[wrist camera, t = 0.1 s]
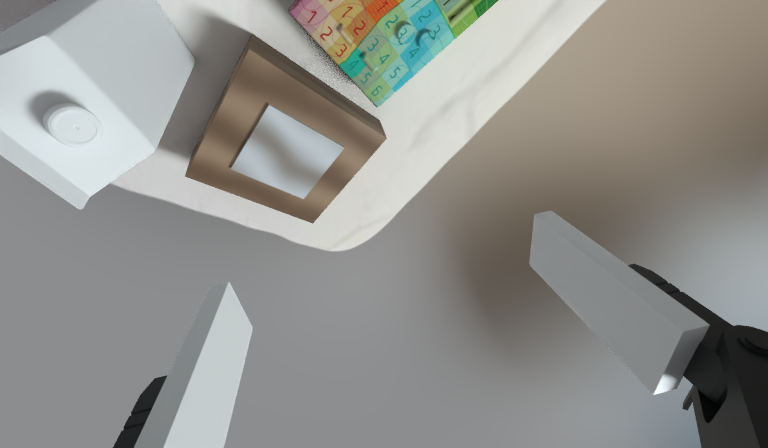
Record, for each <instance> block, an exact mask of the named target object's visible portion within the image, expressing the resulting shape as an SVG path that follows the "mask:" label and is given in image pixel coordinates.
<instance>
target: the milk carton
mask: <svg viewBox="0 0 768 448" xmlns="http://www.w3.org/2000/svg"><path fill="white" fill-rule="evenodd" d="M194 64H195V59H194V57H193V56H192V54H191V53H190V51H189V50H188V48H187V47H186V45H185V44H184V42H183V41H182V39H181V38H180V36H179V35H178V33H177V32H176V30H175V29H174V27H173V26H172V24H171V23H170V21H169V20H168V18H167V17H166V15H165V14H164V12H163V11H162V9H161V8H160V6H159V5H158V3H157V2H156V0H57V1H54V2H53V3H51V4H49V5H47V6H46V7H44V8H42V9H40V10H39V11H37V12H35V13H33V14H32V15H30V16H28V17H26V18H25V19H23V20H21V21H20V22H18V23H16V24H14V25H13V26H11V27H9V28H7V29H6V30H4V31H2V32H0V155H1V156H3V157H4V158H6V159H7V160H9V161H10V162H11V163H13V164H14V165H16V166H17V167H19V168H20V169H22V170H23V171H24V172H26V173H27V174H29V175H30V176H32V177H33V178H35V179H36V180H37V181H39V182H40V183H42V184H43V185H45V186H46V187H48V188H49V189H50V190H52V191H53V192H55V193H56V194H58V195H59V196H60V197H62V198H63V199H65V200H66V201H68V202H69V203H70V204H72V205H74V206H75V207H77V208H78V209H83V207H84V206H85V204H86V202H87V201H88V199H89V197H90V196H92V195H93V194H94V193H96V192H97V191H99V190H100V189H102V188H103V187H105V186H106V185H107V184H109V183H110V182H112V181H113V180H115V179H116V178H117V177H119V176H120V175H122V174H123V173H125V172H126V171H127V170H129V169H130V168H132V167H133V166H135V165H136V164H137V163H139V162H140V161H142V160H143V159H145V158H146V157H147V156H149V155H150V154H152V153H153V152H154V151H155V149H156V147H157V146H158V143H159V141H160V139H161V137H162V135H163V133H164V130H165V128H166V126H167V124H168V121H169V119H170V117H171V115H172V113H173V110H174V108H175V106H176V104H177V102H178V99H179V97H180V95H181V93H182V91H183V88H184V86H185V84H186V82H187V80H188V77H189V75H190V73H191V71H192V69H193V66H194Z"/></svg>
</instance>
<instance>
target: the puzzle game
mask: <svg viewBox="0 0 768 448" xmlns="http://www.w3.org/2000/svg"><path fill="white" fill-rule="evenodd" d="M497 1H498V0H296V1H295V2H294V3H293V4H292V6H291V7H290V8H289V13H290V15H291V16H292V17H293V18H294V19H295V20H296V21H297V22H298V23H299V24H300V25H301V26H302V27H303V29H304V30H305V31H306V32H307V33H308V34H309V35H310V36H311V37H312V38H313V39H314V40H315V41H316V43H317V44H318V45H319V46H320V47H321V48H322V49H323V50H324V51H325V52H326V53H327V54H328V55H329V57H330V58H331V59H332V60H333V61H334V62H335V63H336V64H337V65H338V66H339V67H340V68H341V69H342V70H343V72H344V73H345V74H346V75H347V76H348V77H349V78H350V79H351V80H352V81H353V82H354V83H355V84H356V86H357V87H358V88H359V89H360V90H361V91H362V92H363V93H364V94H365V95H366V96H367V97H368V98H369V100H370V101H371V102H372V103H373V104H374V105H375V106H376V107H378V106H380V105H381V104H382V103H384V102H385V101H386V100H387V99H388V98H389V97H390V96H392V95H393V94H394V93H395V92H396V91H397V90H398V89H399V88H400V87H402V86H403V85H404V84H405V83H406V82H407V81H408V80H409V79H411V78H412V77H413V76H414V75H415V74H416V73H417V72H418V71H420V70H421V69H422V68H423V67H424V66H425V65H426V64H427V63H429V62H430V61H431V60H432V59H433V58H434V57H435V56H436V55H438V54H439V53H440V52H441V51H442V50H443V49H444V48H445V47H447V46H448V45H449V44H450V43H451V42H452V41H453V40H454V39H456V38H457V37H458V36H459V35H460V34H461V33H462V32H463V31H464V30H466V29H467V28H468V27H469V26H470V25H471V24H472V23H473V22H475V21H476V20H477V19H478V18H479V17H480V16H481V15H482V14H484V13H485V12H486V11H487V10H488V9H489V8H490V7H491V6H493V5H494V4H495V3H496V2H497Z"/></svg>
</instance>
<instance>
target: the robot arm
mask: <svg viewBox="0 0 768 448" xmlns="http://www.w3.org/2000/svg"><path fill="white" fill-rule="evenodd" d="M529 264H530V266H532V268H533V269H534V270H535V271H536V272H537V273H538V274H539V275H540V276H541V277H542V278H543V279H544V280H545V281H546V283H547V284H549V286H550V287H551V288H552V289H553V290H554V291H555V292H556V293H557V294H558V295H559V296H560V297H561V298H562V299H563V300H564V302H565V303H566V304H567V305H568V306H569V307H570V308H571V309H572V310H573V311H574V312H575V313H576V314H577V315H578V316H579V317H580V318H581V319H582V320H583V321H584V322H585V324H586V325H587V326H588V327H589V328H590V329H591V330H592V331H593V332H594V333H595V334H596V335H597V336H598V337H599V338H600V339H601V340H602V341H603V342H604V344H605V345H606V346H607V347H608V348H609V349H610V350H611V351H612V352H613V353H614V354H615V355H616V356H617V357H618V358H619V359H620V360H621V361H622V362H623V364H624V365H625V366H626V367H627V368H628V369H629V370H630V371H631V372H632V373H633V374H634V375H635V376H636V377H637V378H638V379H639V380H640V382H642V384H643V385H644V386H645V387H646V388H647V389H648V390H649V391H650V392H651V393H652V394H653V395H655V394H659V393H662V392H666V391H670V390H673V389H676V388H677V387H678V385H679V383H680V381H681V379H682V377H683V376H684V377H685V378H686V379H688V380H689V381H690V382H691V383H692V384H693V386H692V388H691V390H690V392H689V393H688V395H687V397H686V399H685V400H684V402H683V409H685V410H688V409H689V407H690V405H691V403H692V402H693V406H694V411H695V416H696V421H697V427H698V432H699V436H700V442H701V447H702V448H768V332H766V331H763V330H760V329H757V328H754V327H749V326H741V325H736V326H733V325H731V324H729V323H728V322H726V321H725V320H723V319H722V318H720V317H719V316H718V315H716V314H715V313H713V312H712V311H710V310H709V309H707V308H706V307H704V306H703V305H701V304H700V303H698V302H697V301H695V300H694V299H693V298H691V297H690V296H688V295H687V294H685V293H684V292H680V291H679V289H678V288H676V287H675V286H673V285H672V284H671V283H669V284H668V283H667V281H666V280H665V279H663V278H662V277H660V276H659V275H657V274H656V273H654V272H653V271H651V270H648V269H646V268H644V267H641V266H639V265H636V264H631V265H626V264H625V263H623V262H622V261H620V260H619V259H618V258H616V257H615V256H614V255H612V254H611V253H609V252H608V251H607V250H605V249H604V248H602V247H601V246H599V245H598V244H597V243H595V242H594V241H593V240H591V239H590V238H588V237H587V236H586V235H584V234H583V233H581V232H580V231H578V230H577V229H576V228H575V227H573V226H572V225H570V224H569V223H568V222H566V221H564V220H563V219H562V218H560V217H559V216H558V215H556V214H555V213H554V212H552V211H547V212H543V213H538V214H535V217H534V225H533V234H532V244H531V253H530V263H529ZM252 329H253V328H252V326H251V324H250V322H249V320H248V318H247V316H246V314H245V312H244V310H243V308H242V306H241V304H240V302H239V300H238V298H237V296H236V294H235V292H234V290H233V288H232V286H231V284H230V282H229V281H228V282H223V283H219V284H214V285H210V286H209V288H208V290H207V292H206V294H205V297H204V299H203V301H202V303H201V305H200V307H199V309H198V311H197V314H196V316H195V318H194V320H193V322H192V324H191V326H190V329H189V331H188V333H187V335H186V337H185V339H184V342H183V344H182V346H181V348H180V350H179V352H178V354H177V356H176V359H175V361H174V363H173V365H172V367H171V369H170V371H169V374H168V375H167V376H163V377H159V378H155V379H154V380H153V381H152V382H151V383H150V385H149V386H148V387H147V388H146V389H145V391H143V393H142V394H141V395H140V397H139V399H138V401H137V402H136V404H135V406H134V408H133V410H132V412H131V413H132V415H131V416H129V418H128V420H127V422H126V424H125V426H124V430H123V431H122V432H121V433H120V435H119V437H118V439H117V441H116V443H115V445H114V447H113V448H224V444H225V440H226V435H227V432H228V427H229V424H230V420H231V415H232V411H233V407H234V403H235V399H236V395H237V391H238V387H239V383H240V379H241V375H242V370H243V366H244V362H245V358H246V354H247V350H248V346H249V342H250V338H251V333H252Z"/></svg>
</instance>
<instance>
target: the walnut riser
mask: <svg viewBox="0 0 768 448" xmlns="http://www.w3.org/2000/svg"><path fill="white" fill-rule="evenodd" d="M386 139H387V138H386V135H385V133H384V130H383V128H382V125H381V122H380V120H378V119H377V118H375V117H374V116H372V115H371V114H369V113H368V112H366V111H365V110H364V109H362V108H361V107H359V106H358V105H356V104H355V103H353V102H352V101H350V100H349V99H347V98H346V97H344V96H343V95H341V94H340V93H339V92H337V91H336V90H334V89H333V88H331V87H330V86H328V85H327V84H325V83H324V82H322V81H321V80H319V79H318V78H316V77H315V76H314V75H312V74H311V73H309V72H308V71H306V70H305V69H303V68H302V67H300V66H299V65H297V64H296V63H294V62H293V61H291V60H290V59H289V58H287V57H286V56H284V55H283V54H281V53H280V52H278V51H277V50H275V49H274V48H272V47H271V46H269V45H268V44H266V43H265V42H264V41H262V40H261V39H259V38H258V37H256V36H255V35H253V34H252V35H251V37H250V39H249V41H248V43H247V45H246V47H245V49H244V51H243V53H242V55H241V57H240V59H239V61H238V63H237V65H236V67H235V69H234V71H233V73H232V75H231V77H230V79H229V81H228V83H227V85H226V87H225V89H224V91H223V93H222V95H221V97H220V99H219V101H218V103H217V105H216V107H215V109H214V111H213V113H212V115H211V117H210V119H209V121H208V123H207V125H206V127H205V129H204V131H203V133H202V135H201V137H200V139H199V141H198V143H197V145H196V147H195V149H194V151H193V153H192V156H191V159H190V162H189V165H188V168H187V171H186V175H185V177H188V178H191V179H194V180H196V181H199V182H202V183H204V184H207V185H210V186H213V187H215V188H218V189H221V190H223V191H226V192H229V193H232V194H234V195H237V196H240V197H243V198H245V199H248V200H251V201H253V202H256V203H259V204H262V205H264V206H267V207H270V208H272V209H275V210H278V211H281V212H283V213H286V214H289V215H291V216H294V217H297V218H300V219H302V220H305V221H308V222H311V223H314V221H315V220H316V219H317V218H318V217H319V216H320V214H321V213H322V212H323V211H324V210H325V209H326V208H327V206H328V205H329V204H330V203H331V202H332V201H333V200H334V198H335V197H336V196H337V195H338V194H339V193H340V191H341V190H342V189H343V188H344V187H345V186H346V185H347V183H348V182H349V181H350V180H351V179H352V178H353V177H354V175H355V174H356V173H357V172H358V171H359V170H360V168H361V167H362V166H363V165H364V164H365V163H366V162H367V160H368V159H369V158H370V157H371V156H372V155H373V154H374V152H375V151H376V150H377V149H378V148H379V147H380V145H381V144H382V143H383V142H384V141H385V140H386Z"/></svg>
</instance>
